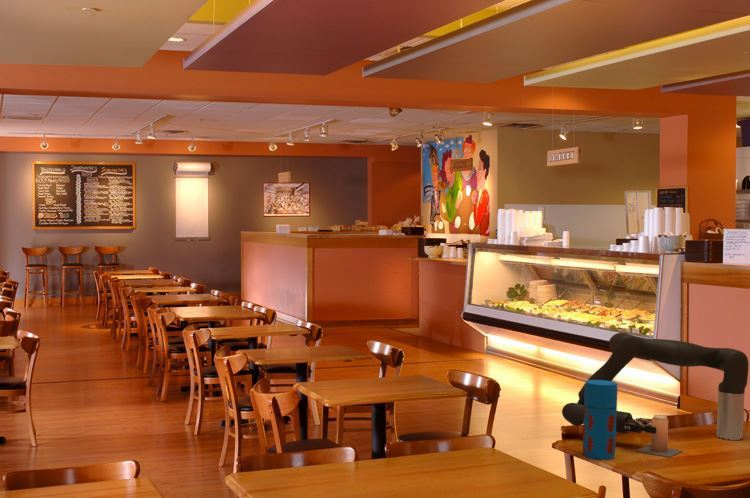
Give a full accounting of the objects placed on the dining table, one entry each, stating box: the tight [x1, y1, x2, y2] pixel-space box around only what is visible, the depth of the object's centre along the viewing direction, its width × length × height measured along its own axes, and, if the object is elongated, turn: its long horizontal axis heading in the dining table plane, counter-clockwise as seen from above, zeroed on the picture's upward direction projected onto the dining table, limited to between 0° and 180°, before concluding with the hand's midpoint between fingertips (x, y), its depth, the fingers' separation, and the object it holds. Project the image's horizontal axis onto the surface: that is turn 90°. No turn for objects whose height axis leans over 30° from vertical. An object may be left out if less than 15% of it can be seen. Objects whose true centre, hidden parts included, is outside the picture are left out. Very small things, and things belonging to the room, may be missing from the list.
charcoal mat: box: [635, 444, 684, 459], centre depth 331 cm, size 12×12×1 cm
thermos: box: [582, 379, 619, 461], centre depth 322 cm, size 11×11×25 cm
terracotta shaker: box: [650, 414, 669, 452], centre depth 331 cm, size 6×6×12 cm
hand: (660, 428), depth 330 cm, fingers open, 8 cm apart
